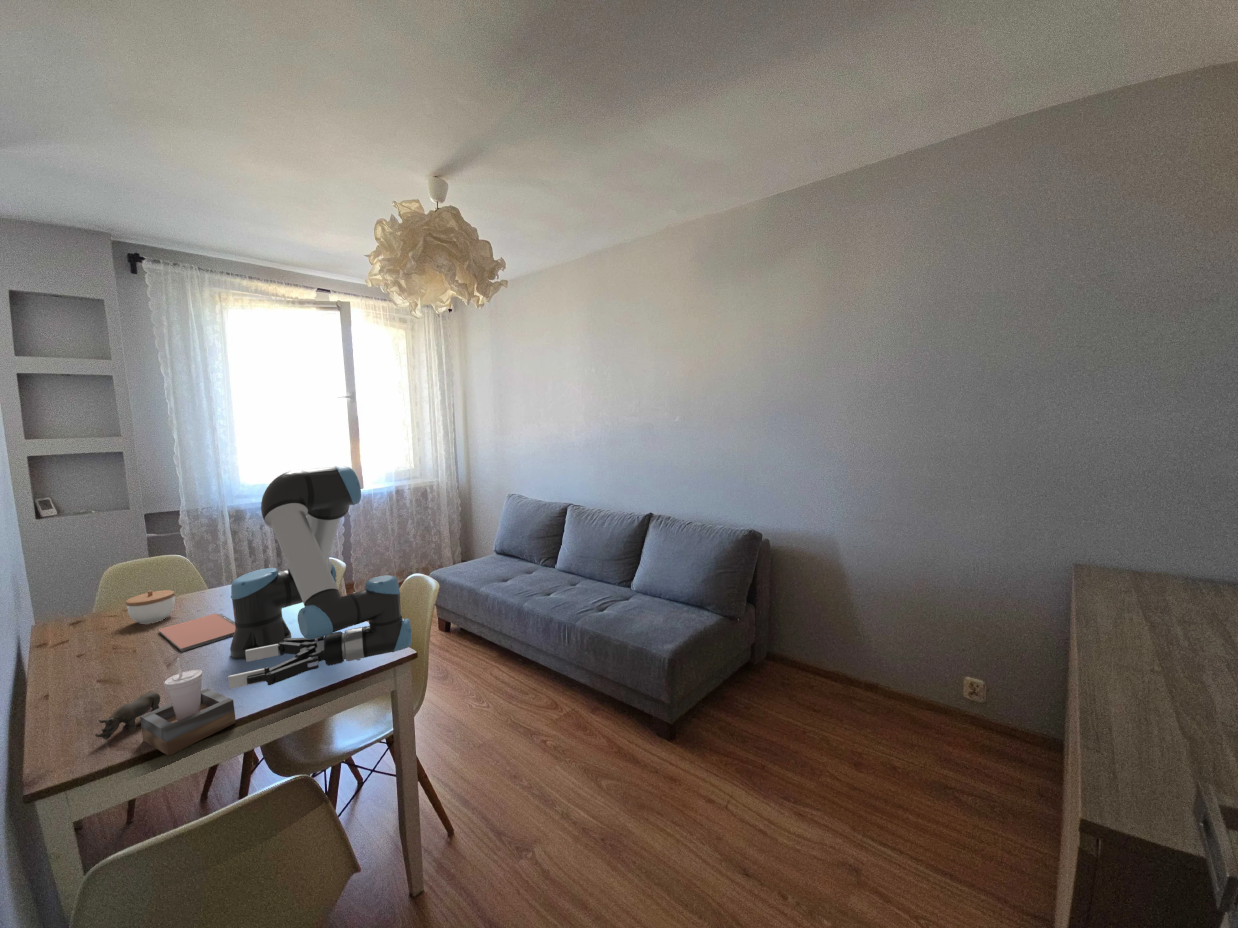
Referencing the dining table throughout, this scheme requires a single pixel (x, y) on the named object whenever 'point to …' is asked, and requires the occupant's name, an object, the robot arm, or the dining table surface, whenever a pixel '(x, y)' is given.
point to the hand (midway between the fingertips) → (237, 668)
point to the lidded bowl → (151, 606)
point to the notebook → (199, 631)
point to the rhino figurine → (129, 713)
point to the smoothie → (185, 691)
